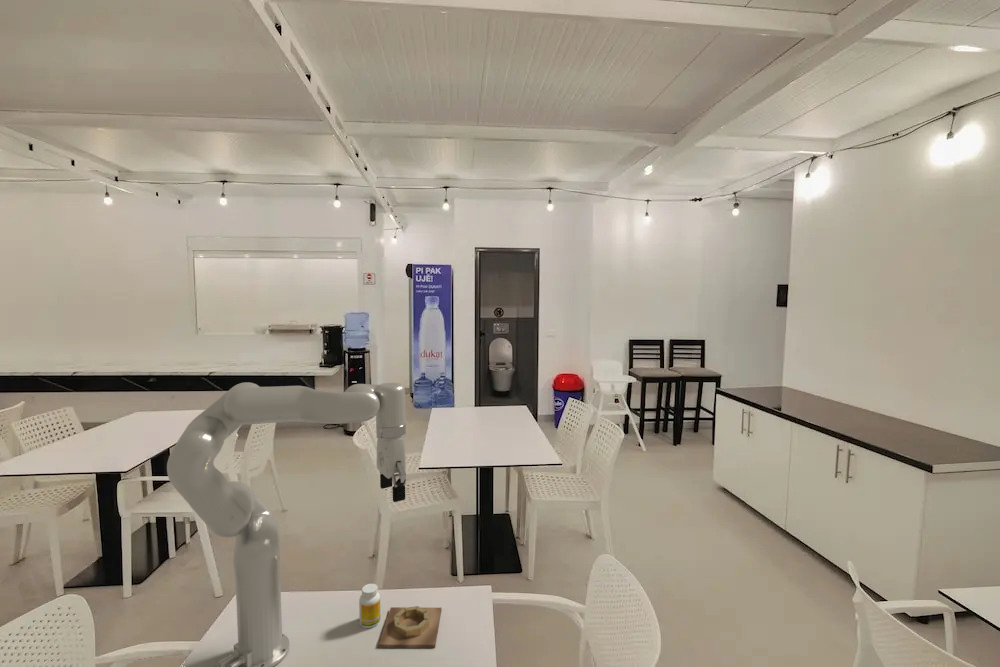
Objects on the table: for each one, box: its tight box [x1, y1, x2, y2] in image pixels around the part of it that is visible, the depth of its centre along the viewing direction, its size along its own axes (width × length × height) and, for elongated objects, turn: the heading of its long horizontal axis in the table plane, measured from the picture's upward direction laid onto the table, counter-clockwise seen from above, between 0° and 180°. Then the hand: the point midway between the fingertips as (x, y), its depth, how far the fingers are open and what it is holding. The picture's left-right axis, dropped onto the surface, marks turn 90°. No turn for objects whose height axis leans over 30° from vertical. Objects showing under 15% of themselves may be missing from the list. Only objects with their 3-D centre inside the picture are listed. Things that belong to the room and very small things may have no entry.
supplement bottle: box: [358, 583, 381, 629], centre depth 128 cm, size 5×5×10 cm
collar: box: [394, 605, 429, 638], centre depth 126 cm, size 9×9×2 cm
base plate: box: [378, 606, 443, 649], centre depth 126 cm, size 14×14×1 cm
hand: (392, 493), depth 127 cm, fingers open, 9 cm apart
